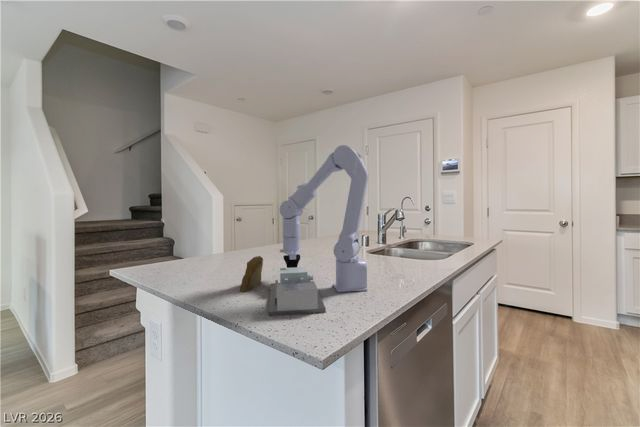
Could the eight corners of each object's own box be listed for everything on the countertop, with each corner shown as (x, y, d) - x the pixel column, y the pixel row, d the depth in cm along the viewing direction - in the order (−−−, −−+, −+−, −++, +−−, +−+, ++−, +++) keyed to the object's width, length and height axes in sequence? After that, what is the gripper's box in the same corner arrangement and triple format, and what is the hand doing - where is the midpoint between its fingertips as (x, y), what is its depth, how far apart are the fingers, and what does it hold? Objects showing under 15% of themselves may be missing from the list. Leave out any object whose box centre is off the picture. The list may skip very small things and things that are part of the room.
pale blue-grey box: (311, 282, 98) (311, 266, 98) (315, 291, 90) (314, 273, 89) (280, 284, 97) (280, 268, 97) (280, 292, 88) (280, 275, 88)
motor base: (313, 284, 101) (313, 266, 101) (325, 312, 76) (325, 288, 76) (271, 286, 99) (270, 268, 99) (268, 315, 74) (268, 291, 74)
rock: (247, 287, 91) (273, 276, 98) (234, 262, 93) (260, 253, 100) (234, 301, 98) (259, 290, 105) (223, 278, 100) (248, 268, 107)
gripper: (279, 234, 109) (279, 272, 110) (279, 239, 95) (280, 283, 95) (299, 233, 110) (299, 271, 111) (302, 239, 96) (302, 282, 96)
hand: (292, 276), depth 103 cm, fingers closed
